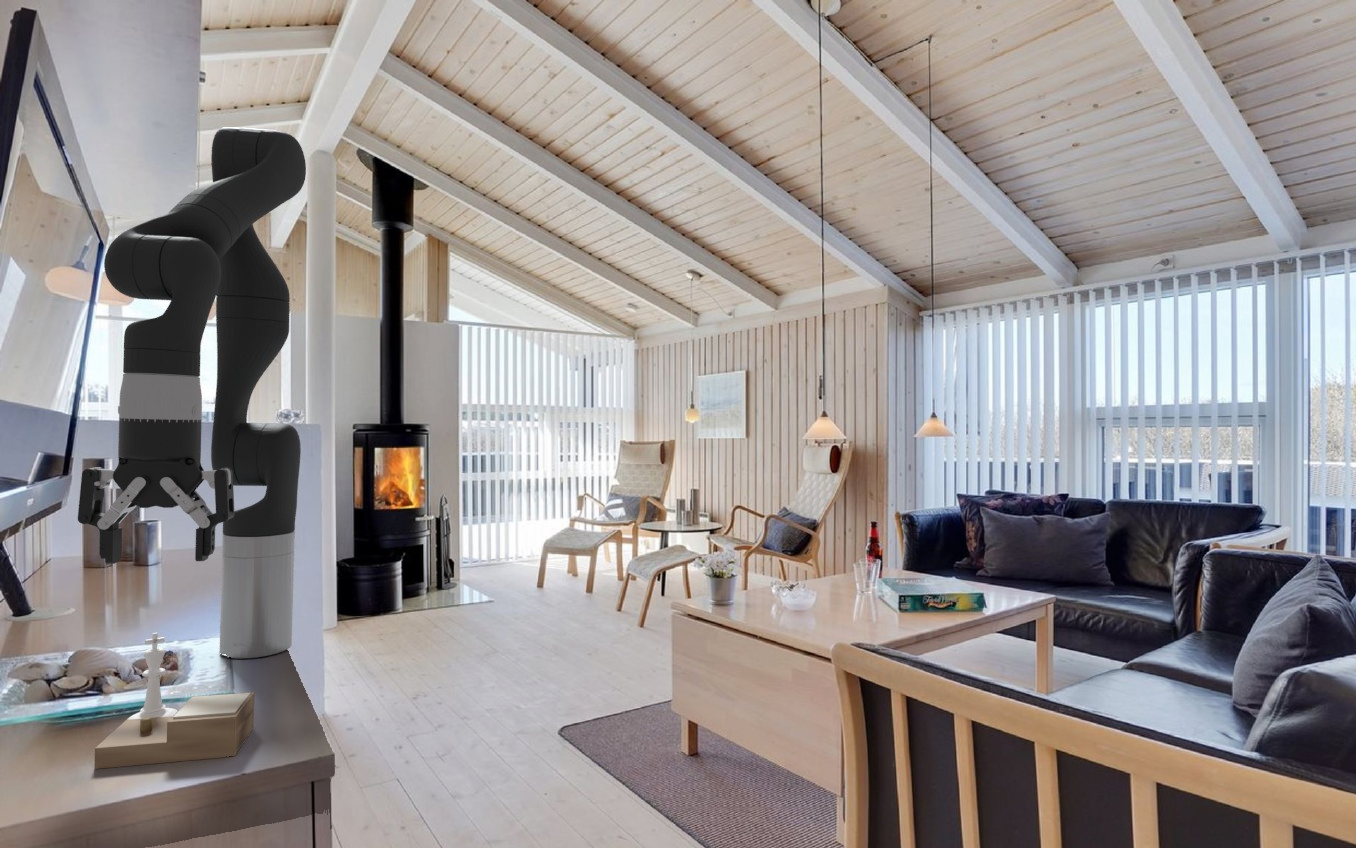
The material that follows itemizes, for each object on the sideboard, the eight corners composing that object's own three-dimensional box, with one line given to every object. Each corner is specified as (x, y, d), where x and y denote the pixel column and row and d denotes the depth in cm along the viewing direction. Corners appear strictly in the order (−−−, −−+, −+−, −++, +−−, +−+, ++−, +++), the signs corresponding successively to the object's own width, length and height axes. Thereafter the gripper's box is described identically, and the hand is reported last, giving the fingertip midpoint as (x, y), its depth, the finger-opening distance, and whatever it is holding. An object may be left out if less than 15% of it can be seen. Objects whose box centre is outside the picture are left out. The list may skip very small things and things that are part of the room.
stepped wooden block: (126, 738, 78) (127, 699, 78) (253, 728, 81) (254, 690, 81) (94, 769, 71) (95, 725, 71) (234, 756, 74) (235, 714, 74)
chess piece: (182, 724, 81) (184, 634, 81) (127, 736, 78) (129, 642, 78) (176, 710, 85) (178, 624, 85) (123, 721, 82) (125, 631, 82)
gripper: (243, 417, 87) (239, 553, 87) (101, 414, 83) (98, 557, 83) (223, 418, 80) (220, 566, 80) (67, 414, 76) (64, 570, 76)
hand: (158, 561), depth 82 cm, fingers open, 8 cm apart
